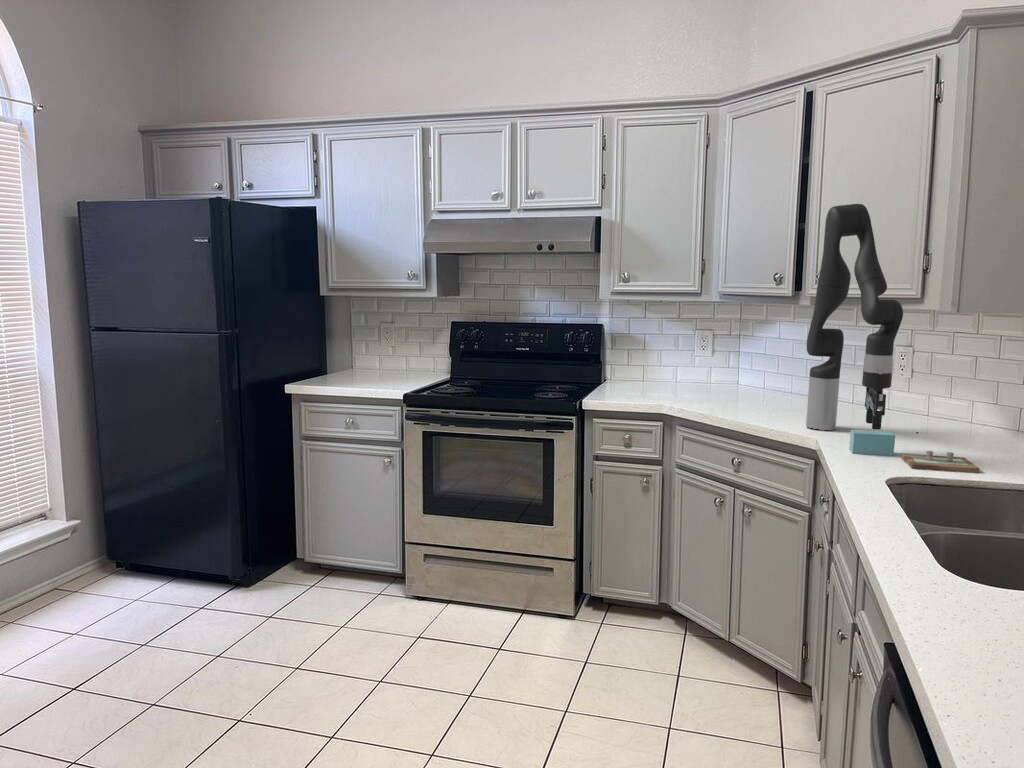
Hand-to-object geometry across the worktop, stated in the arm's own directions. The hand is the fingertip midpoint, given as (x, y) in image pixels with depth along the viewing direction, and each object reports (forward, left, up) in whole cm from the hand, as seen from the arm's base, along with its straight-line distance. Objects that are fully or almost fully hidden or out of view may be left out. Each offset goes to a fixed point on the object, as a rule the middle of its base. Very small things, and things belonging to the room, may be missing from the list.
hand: (873, 426), depth 218 cm
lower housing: (0, 0, -8) cm, 8 cm away
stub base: (+10, +15, -8) cm, 20 cm away
